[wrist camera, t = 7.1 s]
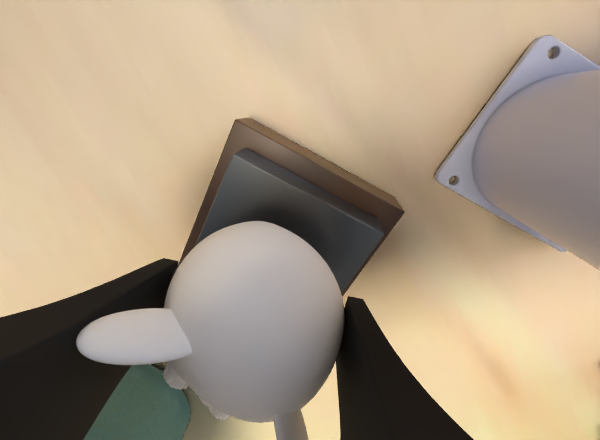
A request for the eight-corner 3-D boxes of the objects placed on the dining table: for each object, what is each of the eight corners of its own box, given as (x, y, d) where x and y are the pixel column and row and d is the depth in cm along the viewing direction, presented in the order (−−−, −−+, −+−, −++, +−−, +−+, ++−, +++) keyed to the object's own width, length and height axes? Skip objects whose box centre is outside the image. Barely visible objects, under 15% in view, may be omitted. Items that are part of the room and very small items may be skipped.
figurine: (163, 263, 13) (21, 395, 7) (246, 169, 11) (144, 245, 5) (284, 359, 15) (252, 534, 9) (379, 293, 13) (423, 466, 7)
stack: (395, 197, 17) (416, 227, 13) (317, 308, 21) (313, 359, 17) (248, 117, 16) (220, 120, 12) (194, 248, 20) (159, 286, 16)
